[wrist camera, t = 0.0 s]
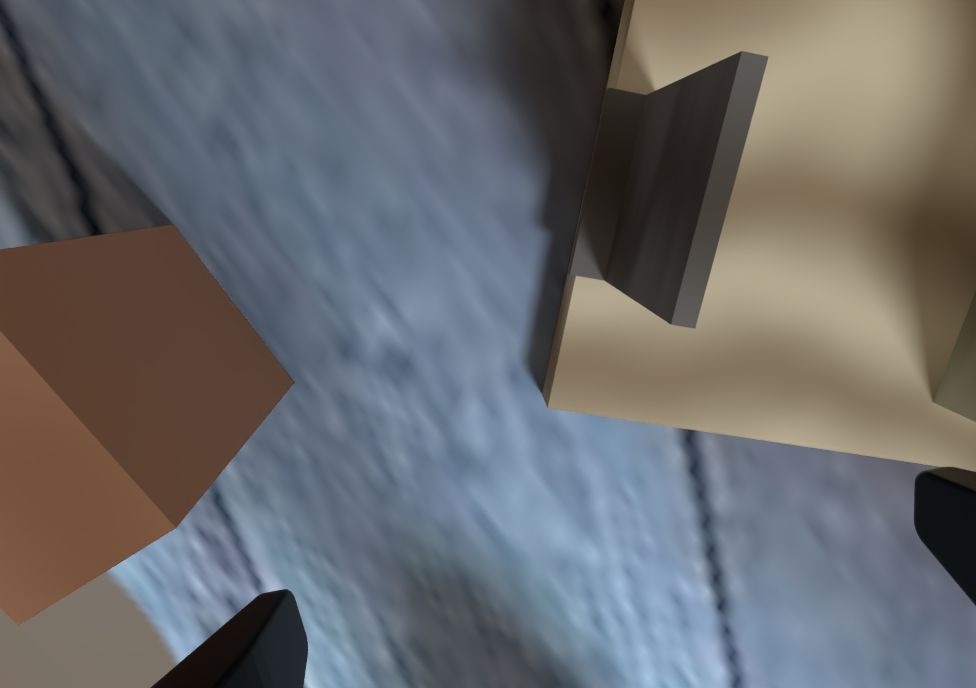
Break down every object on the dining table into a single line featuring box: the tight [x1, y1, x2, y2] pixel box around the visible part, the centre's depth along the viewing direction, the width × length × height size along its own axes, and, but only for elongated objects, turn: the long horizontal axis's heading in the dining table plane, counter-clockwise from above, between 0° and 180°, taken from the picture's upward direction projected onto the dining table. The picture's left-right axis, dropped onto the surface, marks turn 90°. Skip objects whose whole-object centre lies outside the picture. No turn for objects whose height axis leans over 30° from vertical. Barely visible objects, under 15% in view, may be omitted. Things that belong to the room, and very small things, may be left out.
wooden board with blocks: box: [542, 0, 976, 472], centre depth 18 cm, size 16×22×8 cm
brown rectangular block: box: [0, 224, 294, 625], centre depth 17 cm, size 7×4×10 cm, turn 32°
